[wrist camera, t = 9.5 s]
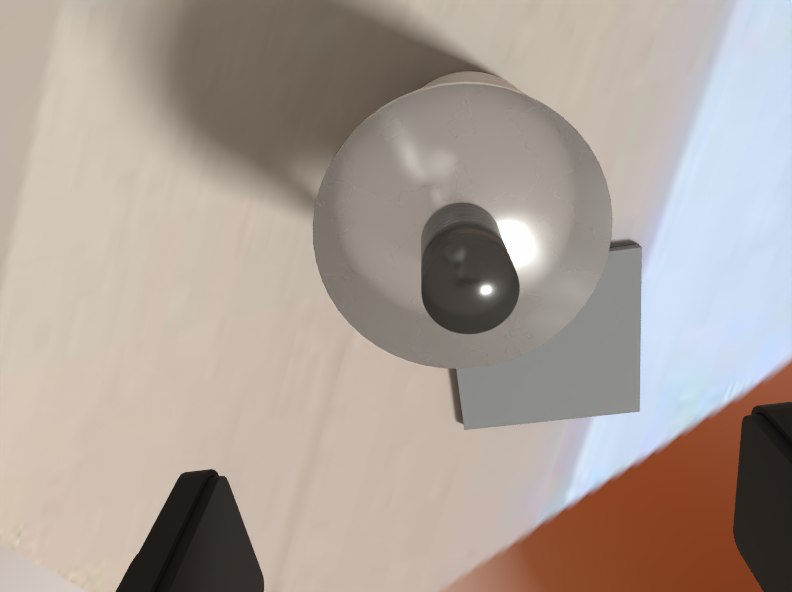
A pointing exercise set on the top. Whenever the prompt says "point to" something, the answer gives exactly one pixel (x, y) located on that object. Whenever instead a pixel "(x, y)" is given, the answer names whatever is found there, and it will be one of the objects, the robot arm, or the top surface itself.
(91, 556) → the top surface
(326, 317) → the top surface
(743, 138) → the top surface
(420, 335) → the lid
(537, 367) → the mat
